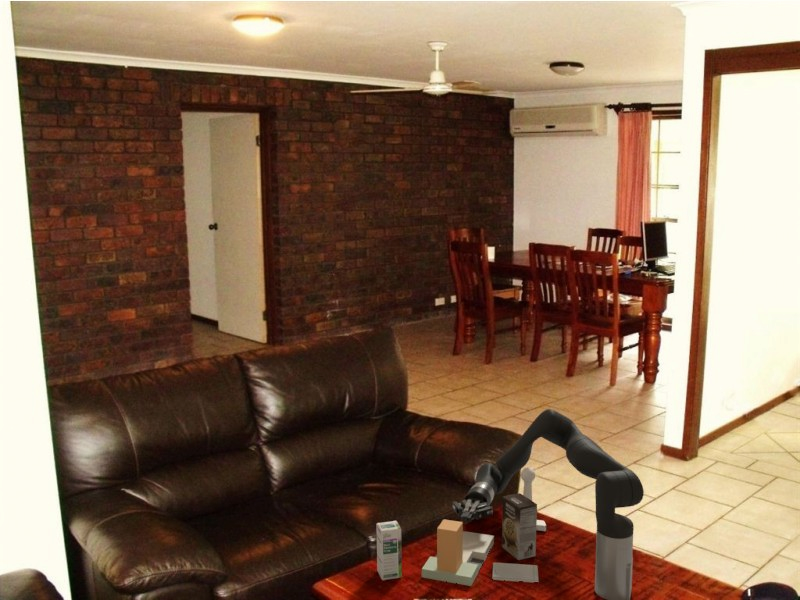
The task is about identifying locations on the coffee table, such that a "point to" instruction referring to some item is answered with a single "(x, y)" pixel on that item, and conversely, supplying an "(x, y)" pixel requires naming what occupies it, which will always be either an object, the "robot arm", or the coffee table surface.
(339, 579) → the coffee table surface
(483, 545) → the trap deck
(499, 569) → the hard drive
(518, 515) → the coffee box
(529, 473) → the joystick
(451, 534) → the orange block
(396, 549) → the syrup box
